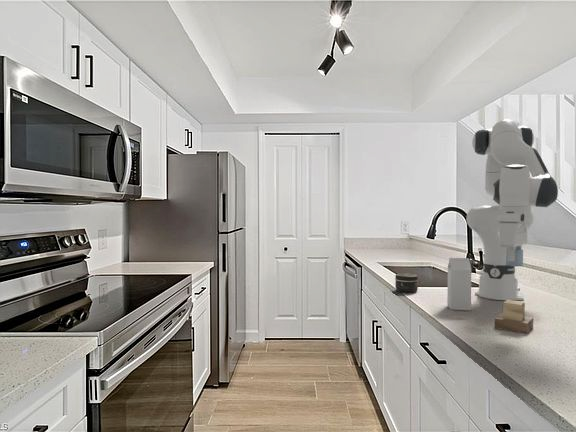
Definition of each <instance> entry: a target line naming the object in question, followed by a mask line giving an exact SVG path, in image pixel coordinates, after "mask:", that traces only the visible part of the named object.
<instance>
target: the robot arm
mask: <svg viewBox="0 0 576 432" xmlns="http://www.w3.org/2000/svg"><path fill="white" fill-rule="evenodd" d="M471 142H472V147H473V150H474V153H476V154H477V155H480V156H485V155H487V158H486V163H485V179H484V180H485V181H484V182H485V185H484V186H485V189H484V190H485V191H486V193H487V194H488V195H489V196H491V197H493V198H492V200H493V201H494V202H495V203H496V204H497V205H479V206H474V207H471V208H470V209H469V210H468V211H467V214H466V218H465V219H466V224H467V225H468V227H469V228H470V229H471V230H472V231H474V232H475V233H476V234H477V235H478V236H479V238H480V240H481V242H482V244H483V245H482V246H483V254H484V262H483V265H482V269H483V270H482V272H483V273H482V274H481V275H480V276H479V281H478V291H475V292H474V295H476V296H479V297H481V298H485V299H489V300H497V301H506V300H513V301H525V300H524V292H522V291H520V290H521V288H520V287H519V281H518V278H517V276H516V274H515V273H516V268H515V267H516V266H507V265H506V249H507V252H508V260H509V261H515V260H516V255H515V250H516V249H521V250H523V249H522V247H523V245H527V243H528V230H529V229H530V227H532V225H533V222H534V214H533V213H532V207H536V208H537V207H538V208H548V207H550V206H551V205H553V203H555V202H556V201H557V199H558V197H559V196H558V195H559V188H558V184H557V181H556V180H555V179H554V177H552V175H551V174H550V172H549V171H548V170H549V169H548V168H547V167H546V165H545V163H544V161H543V159H542V157H541V155H540V153H539V151H537V149H536V148H535V147H533V145H534V143H535V136H534V133H533V129H531V127H529V126H523V125H521V126H519V125H518V124H517V123H516V121H513V120H511V119H501V120H500V121H497V122H496V123H494V125H493V126H492V128H487V129H486V128H482V129H479V130H477V131H476V132H475V133H474V135H473V137H472V141H471Z"/></svg>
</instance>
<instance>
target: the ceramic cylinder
mask: <svg viewBox="0 0 576 432" xmlns="http://www.w3.org/2000/svg"><path fill="white" fill-rule="evenodd" d="M515 255H516V260H515V261H509V260H508V252H507V249H506V265H507V266H515V267H523V266H524V249H516V250H515Z"/></svg>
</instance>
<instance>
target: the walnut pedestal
mask: <svg viewBox="0 0 576 432" xmlns="http://www.w3.org/2000/svg"><path fill="white" fill-rule="evenodd" d="M533 328H534V317H531V316H525V318H524V319H523V320H522V321H518V320H511V319H504V318H503V313H500V314H499V315H498V316H496V317H494V329H499V330H503V331H510V332H514V333H515V332H517V333H522V334H528V333H529V332H530V331H531V330H532V329H533Z"/></svg>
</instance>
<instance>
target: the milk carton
mask: <svg viewBox="0 0 576 432" xmlns="http://www.w3.org/2000/svg"><path fill="white" fill-rule="evenodd" d="M448 259H449V260H448V263H447V300H446V301H447V303H446V304H447V307H448V308H449V309H450V310H451V311H452V310H453V311H472V267H471V262H470V258H468V257H449V258H448Z"/></svg>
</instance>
